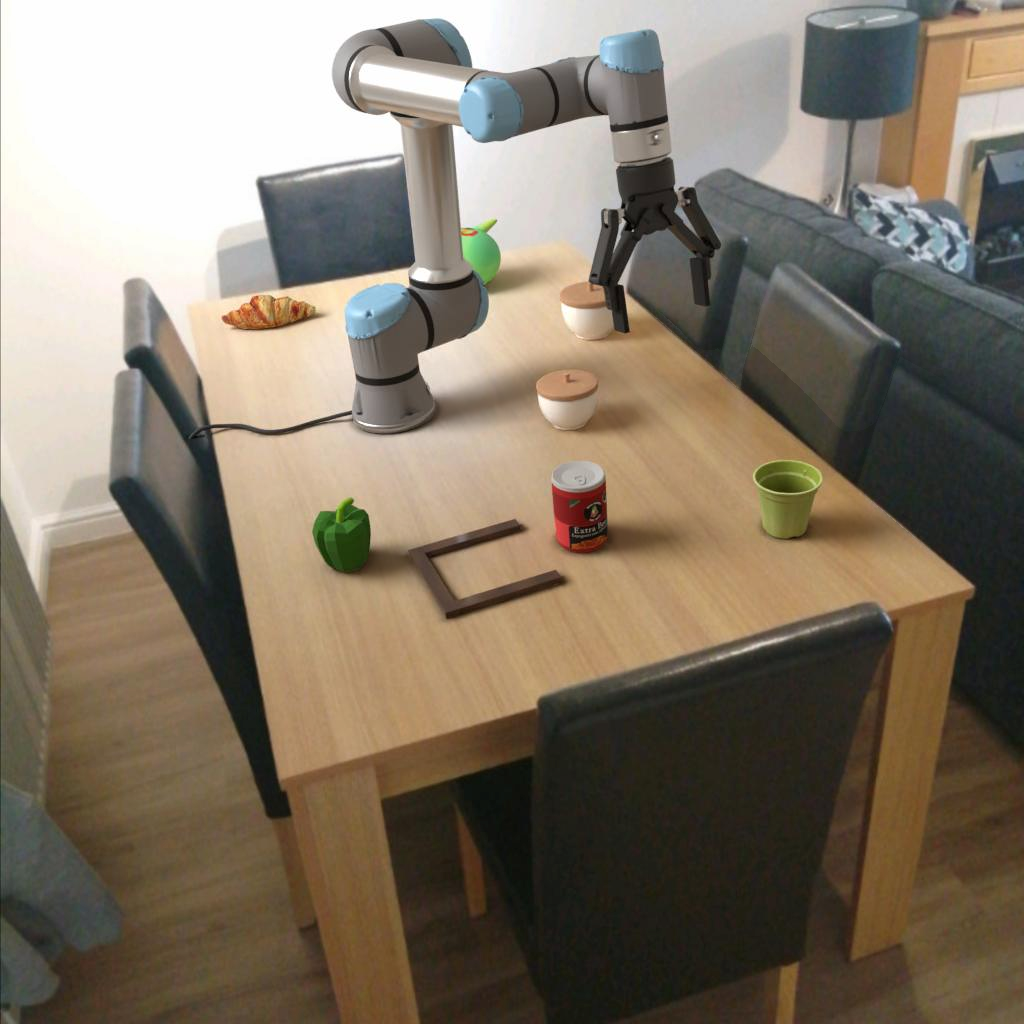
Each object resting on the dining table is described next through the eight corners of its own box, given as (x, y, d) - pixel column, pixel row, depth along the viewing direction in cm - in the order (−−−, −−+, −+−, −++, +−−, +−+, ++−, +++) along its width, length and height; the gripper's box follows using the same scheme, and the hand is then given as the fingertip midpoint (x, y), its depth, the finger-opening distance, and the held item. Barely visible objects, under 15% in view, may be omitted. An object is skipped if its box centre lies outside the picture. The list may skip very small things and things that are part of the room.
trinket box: (595, 437, 178) (593, 387, 173) (534, 436, 180) (530, 386, 175) (603, 408, 187) (601, 360, 182) (544, 408, 189) (541, 360, 184)
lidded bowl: (633, 326, 218) (632, 275, 212) (604, 349, 209) (602, 296, 203) (580, 318, 224) (578, 269, 218) (551, 340, 215) (547, 289, 209)
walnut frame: (515, 524, 157) (515, 518, 156) (562, 582, 143) (561, 576, 142) (408, 555, 152) (407, 549, 151) (446, 619, 138) (445, 613, 138)
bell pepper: (328, 585, 147) (315, 526, 142) (314, 557, 154) (301, 499, 148) (384, 568, 150) (374, 509, 144) (368, 541, 156) (357, 483, 151)
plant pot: (805, 552, 144) (810, 499, 139) (741, 536, 149) (743, 484, 144) (827, 519, 151) (831, 467, 146) (764, 505, 155) (767, 454, 151)
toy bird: (421, 300, 242) (412, 238, 234) (437, 275, 256) (429, 215, 248) (496, 298, 239) (490, 235, 231) (509, 273, 253) (503, 213, 245)
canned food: (573, 560, 147) (568, 494, 141) (545, 534, 153) (540, 470, 148) (618, 542, 150) (616, 477, 144) (590, 518, 156) (586, 454, 150)
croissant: (319, 325, 243) (313, 291, 243) (316, 319, 233) (311, 284, 233) (227, 337, 241) (221, 302, 240) (221, 332, 231) (215, 296, 230)
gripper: (577, 183, 128) (601, 347, 137) (738, 139, 137) (751, 297, 146) (547, 181, 134) (573, 338, 143) (703, 139, 143) (717, 290, 152)
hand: (662, 318), depth 144 cm, fingers open, 13 cm apart
